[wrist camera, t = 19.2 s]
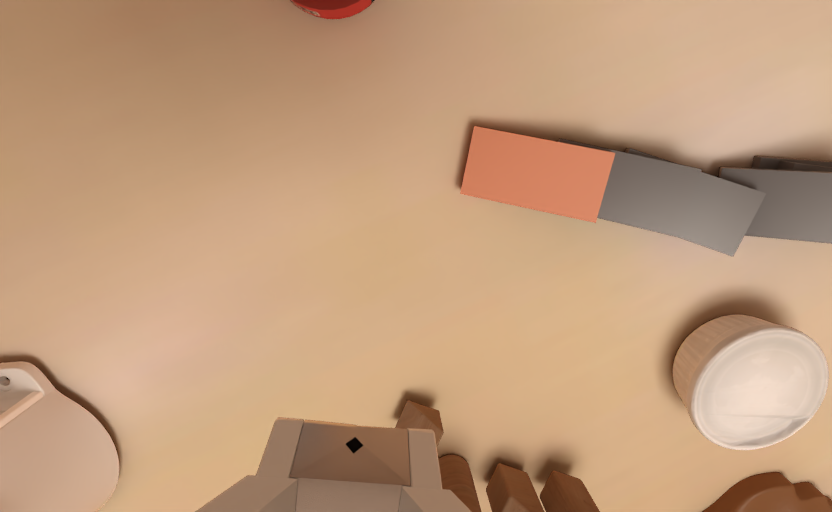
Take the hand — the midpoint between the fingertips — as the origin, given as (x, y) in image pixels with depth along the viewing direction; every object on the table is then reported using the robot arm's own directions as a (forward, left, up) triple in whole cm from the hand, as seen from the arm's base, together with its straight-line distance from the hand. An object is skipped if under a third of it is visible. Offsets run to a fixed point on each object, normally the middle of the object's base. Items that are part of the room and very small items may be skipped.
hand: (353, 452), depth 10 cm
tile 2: (+18, +3, -30) cm, 35 cm away
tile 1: (+13, +3, -30) cm, 33 cm away
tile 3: (+26, +2, -30) cm, 40 cm away
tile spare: (+6, +3, -30) cm, 31 cm away
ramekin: (+32, -12, -31) cm, 46 cm away
